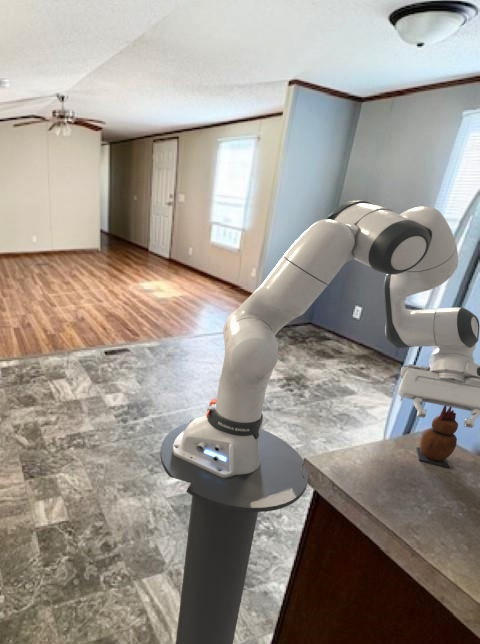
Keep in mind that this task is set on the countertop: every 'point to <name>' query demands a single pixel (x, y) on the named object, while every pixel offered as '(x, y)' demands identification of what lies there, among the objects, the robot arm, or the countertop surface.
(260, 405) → the robot arm
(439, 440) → the wooden figurine
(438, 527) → the countertop surface
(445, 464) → the coaster
